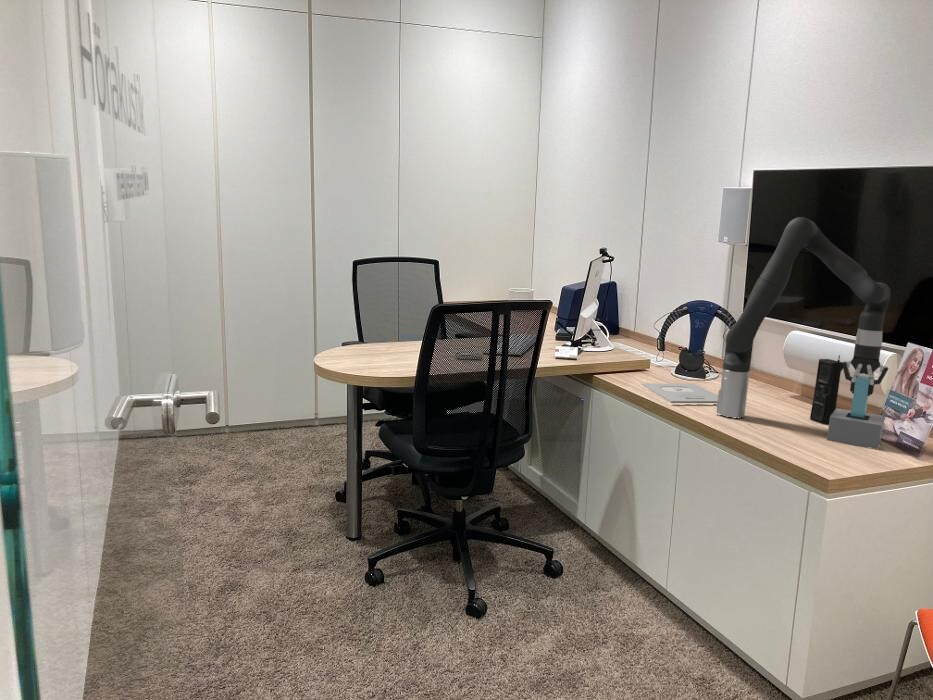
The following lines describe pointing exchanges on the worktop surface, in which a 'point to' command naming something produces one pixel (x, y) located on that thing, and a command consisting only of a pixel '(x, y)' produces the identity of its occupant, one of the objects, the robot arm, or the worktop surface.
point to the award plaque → (682, 393)
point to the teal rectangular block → (860, 396)
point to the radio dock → (855, 428)
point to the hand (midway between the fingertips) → (861, 394)
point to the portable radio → (826, 390)
